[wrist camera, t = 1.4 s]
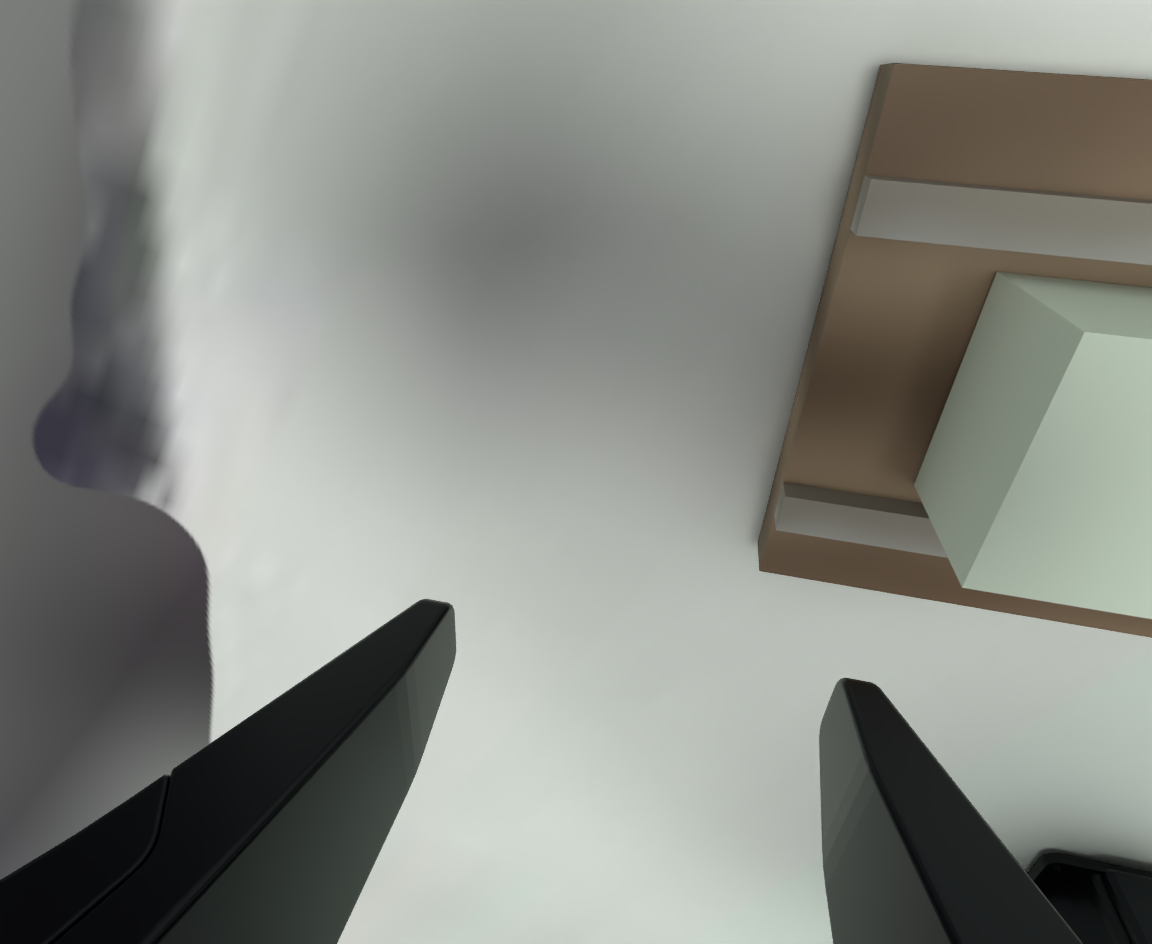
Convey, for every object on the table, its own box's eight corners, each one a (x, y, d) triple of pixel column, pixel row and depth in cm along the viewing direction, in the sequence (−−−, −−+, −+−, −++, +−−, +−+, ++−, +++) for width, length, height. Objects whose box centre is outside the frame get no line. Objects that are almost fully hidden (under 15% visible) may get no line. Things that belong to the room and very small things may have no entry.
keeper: (1145, 519, 18) (1258, 637, 14) (914, 485, 19) (961, 587, 15) (1281, 300, 15) (1476, 376, 11) (996, 271, 16) (1085, 331, 12)
